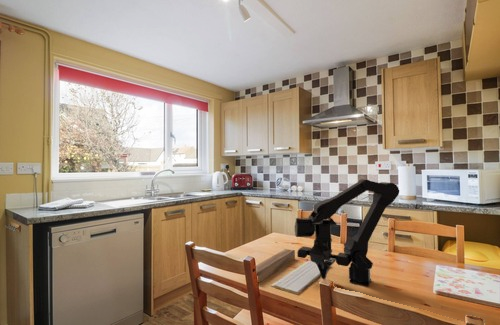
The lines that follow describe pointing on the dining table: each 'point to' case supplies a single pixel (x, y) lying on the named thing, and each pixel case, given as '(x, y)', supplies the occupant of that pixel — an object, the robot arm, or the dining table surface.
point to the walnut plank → (274, 263)
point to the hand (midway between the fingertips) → (323, 278)
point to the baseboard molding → (298, 278)
